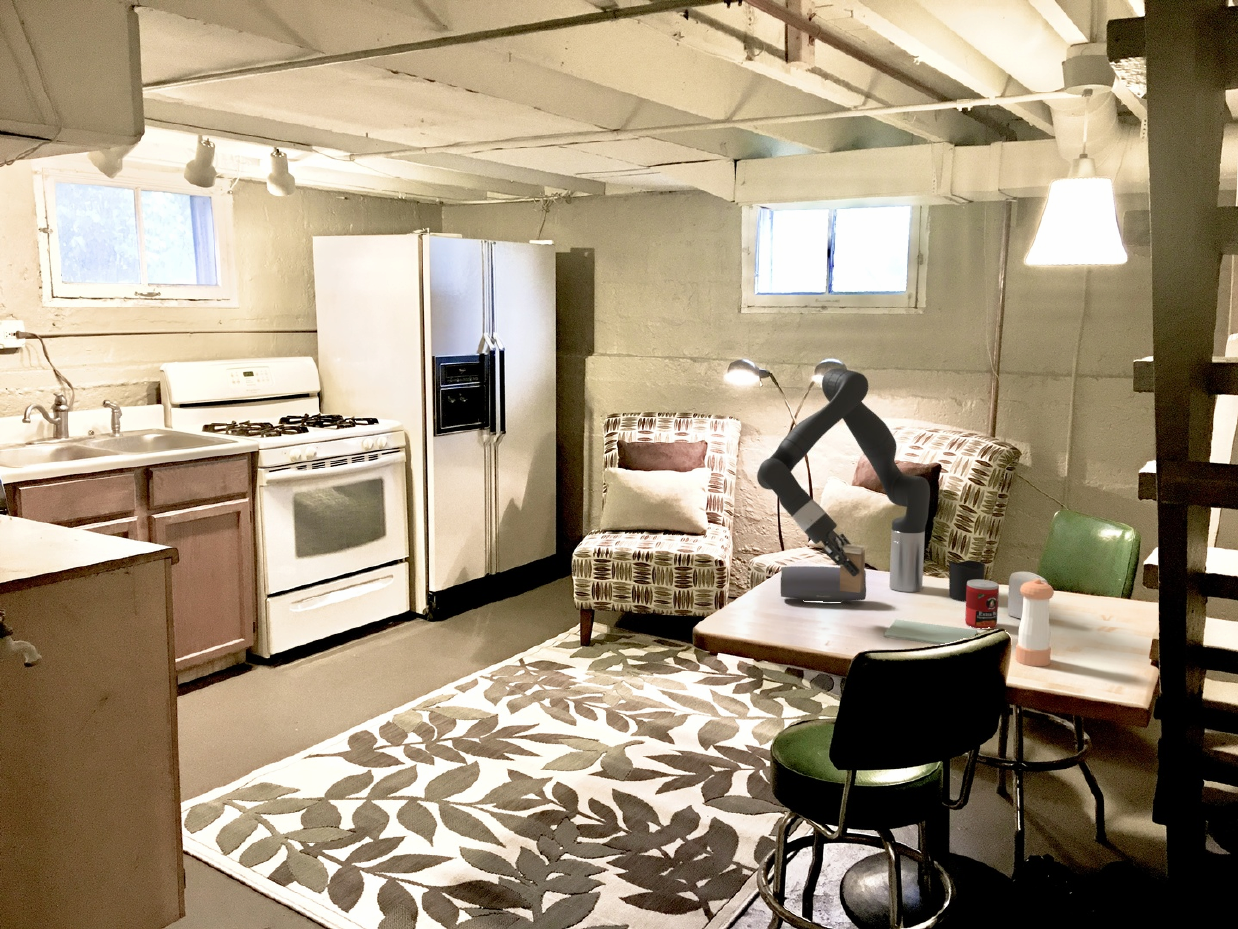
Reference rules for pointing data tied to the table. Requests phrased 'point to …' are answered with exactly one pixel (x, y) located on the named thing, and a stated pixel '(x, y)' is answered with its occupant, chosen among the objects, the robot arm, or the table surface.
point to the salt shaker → (1034, 624)
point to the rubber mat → (927, 632)
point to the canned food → (981, 603)
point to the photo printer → (1014, 591)
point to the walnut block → (858, 559)
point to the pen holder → (963, 577)
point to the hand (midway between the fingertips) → (859, 571)
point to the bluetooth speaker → (816, 584)
